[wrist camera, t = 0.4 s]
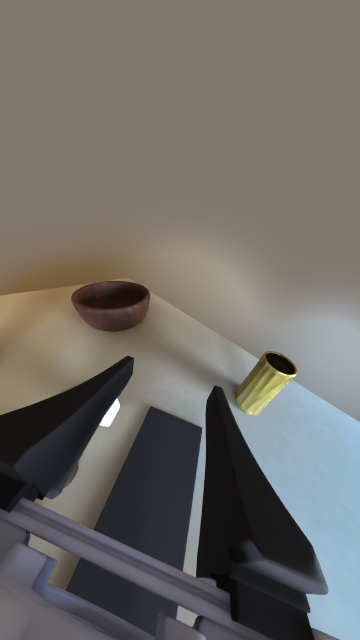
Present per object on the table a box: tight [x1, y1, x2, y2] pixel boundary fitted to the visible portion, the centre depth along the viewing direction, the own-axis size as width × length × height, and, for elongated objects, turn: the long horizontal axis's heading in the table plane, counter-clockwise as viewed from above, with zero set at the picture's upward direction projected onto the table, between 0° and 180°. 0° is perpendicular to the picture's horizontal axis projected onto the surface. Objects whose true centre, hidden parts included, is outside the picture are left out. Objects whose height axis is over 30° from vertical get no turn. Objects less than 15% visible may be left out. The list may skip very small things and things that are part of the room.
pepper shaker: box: [99, 398, 120, 427], centre depth 23 cm, size 4×4×10 cm
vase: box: [235, 351, 297, 415], centre depth 27 cm, size 6×6×14 cm
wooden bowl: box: [71, 281, 150, 331], centre depth 50 cm, size 25×25×10 cm
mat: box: [66, 407, 202, 637], centre depth 19 cm, size 18×11×1 cm, turn 162°
